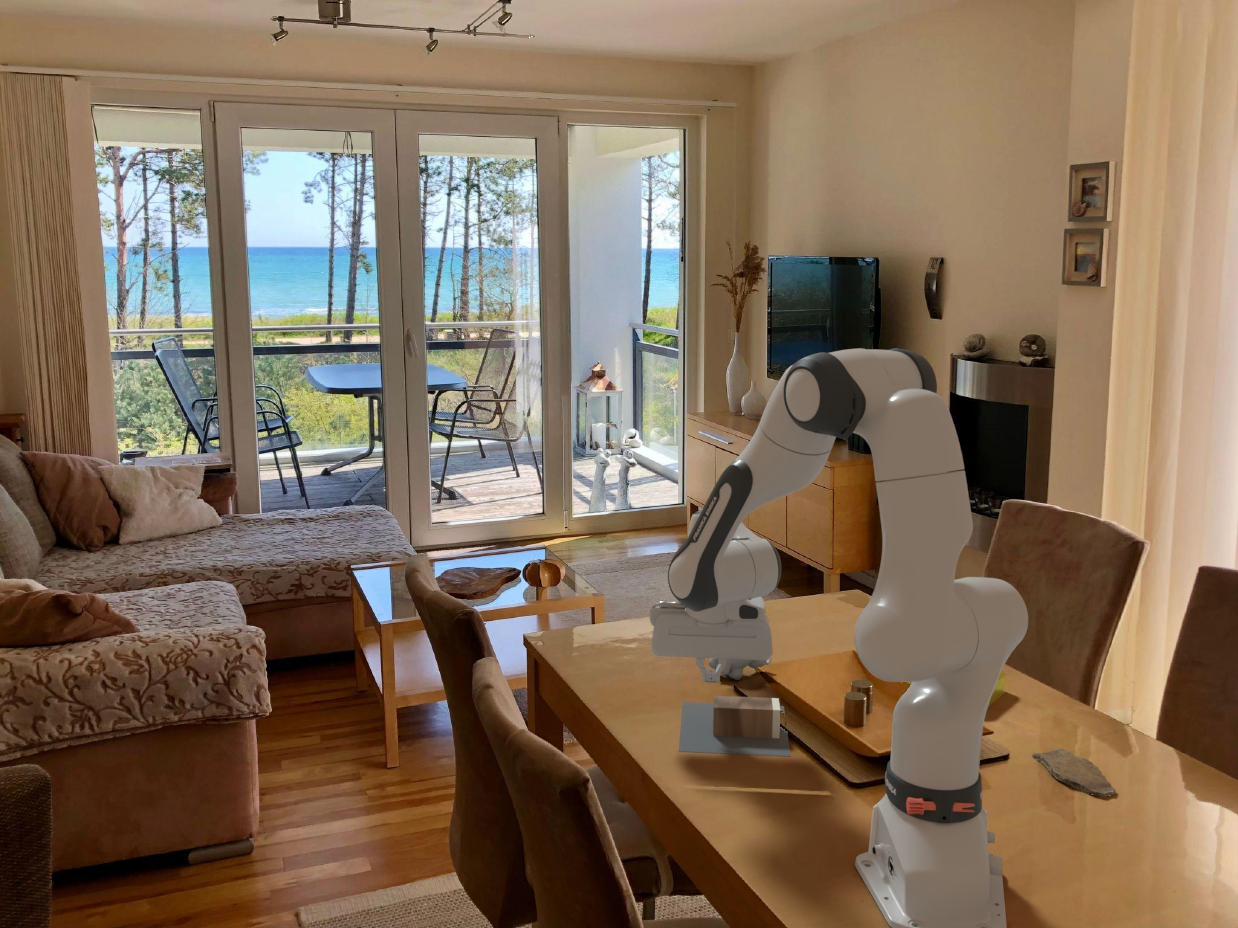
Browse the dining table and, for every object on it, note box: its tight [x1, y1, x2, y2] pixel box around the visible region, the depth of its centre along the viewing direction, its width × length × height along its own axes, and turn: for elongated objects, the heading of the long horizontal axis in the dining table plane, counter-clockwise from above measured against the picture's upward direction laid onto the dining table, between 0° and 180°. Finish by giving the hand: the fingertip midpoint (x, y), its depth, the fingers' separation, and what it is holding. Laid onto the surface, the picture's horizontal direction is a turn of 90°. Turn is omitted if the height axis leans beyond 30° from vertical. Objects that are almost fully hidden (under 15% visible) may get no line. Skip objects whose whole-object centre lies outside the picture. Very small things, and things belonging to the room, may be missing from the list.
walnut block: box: [713, 695, 781, 738], centre depth 186 cm, size 5×5×11 cm
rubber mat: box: [678, 701, 792, 757], centre depth 187 cm, size 20×18×1 cm
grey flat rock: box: [1032, 748, 1117, 798], centre depth 172 cm, size 8×16×2 cm, turn 9°
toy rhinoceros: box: [707, 657, 772, 681], centre depth 211 cm, size 7×12×8 cm, turn 107°
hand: (711, 681), depth 185 cm, fingers closed
